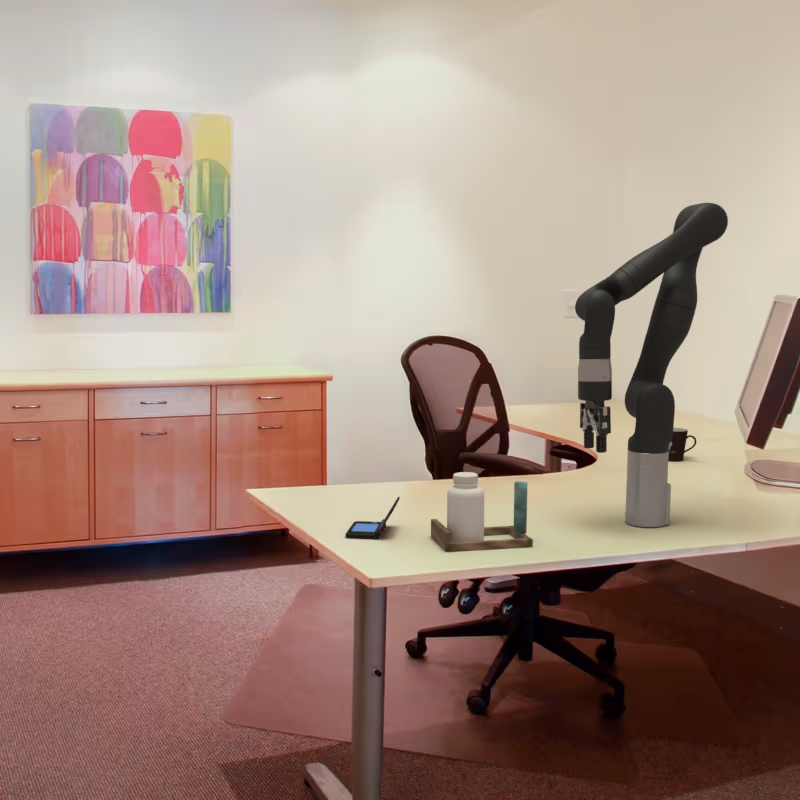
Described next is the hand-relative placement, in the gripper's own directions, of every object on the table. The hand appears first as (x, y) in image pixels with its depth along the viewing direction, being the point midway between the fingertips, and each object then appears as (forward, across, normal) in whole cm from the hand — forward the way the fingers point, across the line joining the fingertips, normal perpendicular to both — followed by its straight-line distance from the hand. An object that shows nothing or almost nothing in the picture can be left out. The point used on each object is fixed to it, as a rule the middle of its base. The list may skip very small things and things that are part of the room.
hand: (594, 450), depth 214 cm
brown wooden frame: (+18, -9, +29) cm, 35 cm away
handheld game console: (+18, +2, +51) cm, 54 cm away
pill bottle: (+18, -10, +32) cm, 38 cm away
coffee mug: (+15, +83, -55) cm, 101 cm away
